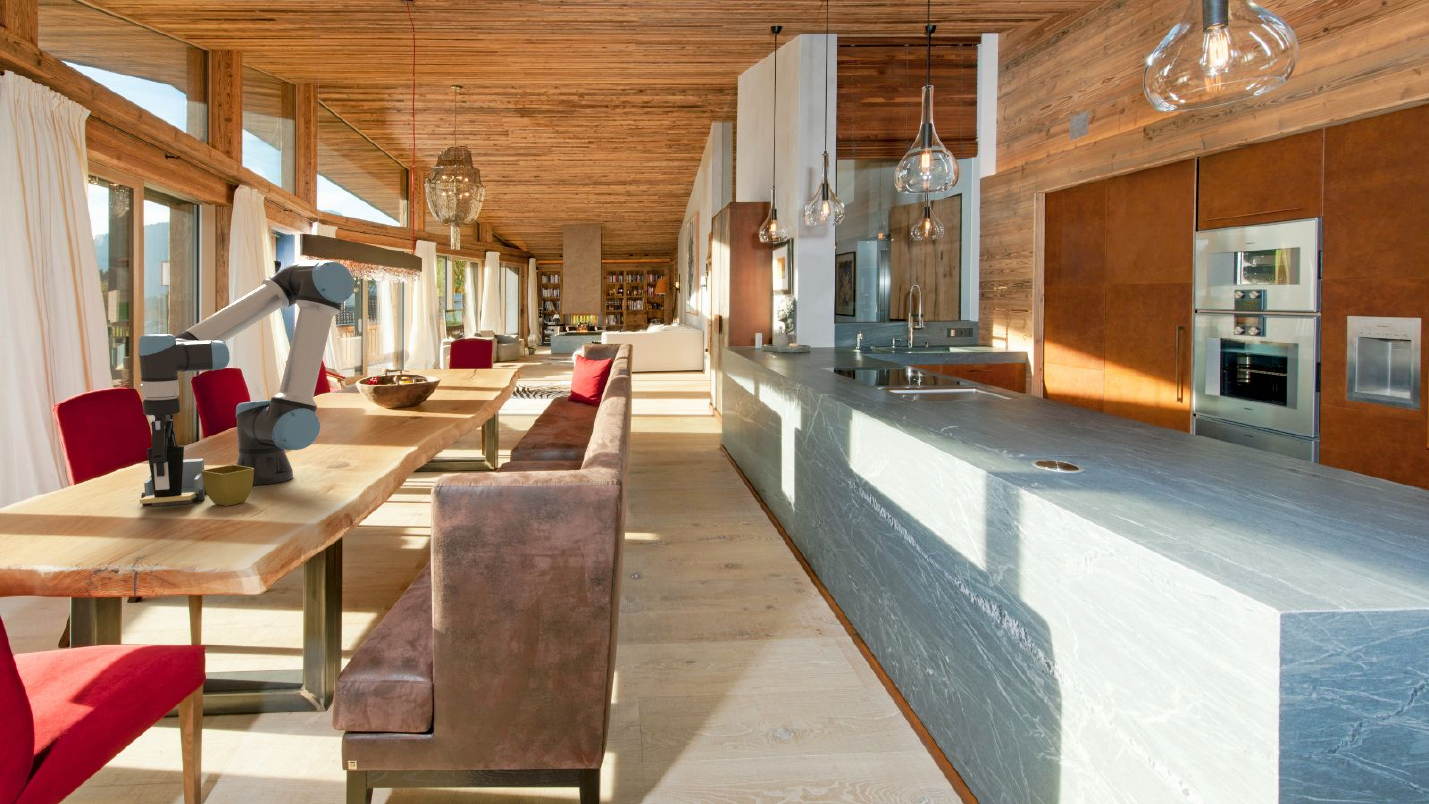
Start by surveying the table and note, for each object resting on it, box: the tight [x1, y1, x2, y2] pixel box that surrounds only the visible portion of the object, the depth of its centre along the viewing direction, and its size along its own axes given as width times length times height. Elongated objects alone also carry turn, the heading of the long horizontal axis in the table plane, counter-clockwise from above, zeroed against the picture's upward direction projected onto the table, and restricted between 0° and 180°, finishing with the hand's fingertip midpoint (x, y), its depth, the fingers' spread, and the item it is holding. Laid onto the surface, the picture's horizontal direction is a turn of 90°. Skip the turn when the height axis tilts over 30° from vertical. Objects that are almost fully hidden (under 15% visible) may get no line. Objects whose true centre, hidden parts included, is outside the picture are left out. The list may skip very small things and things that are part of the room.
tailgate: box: [139, 492, 197, 505], centre depth 205 cm, size 10×1×9 cm
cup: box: [146, 445, 185, 497], centre depth 204 cm, size 8×8×12 cm
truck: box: [140, 458, 207, 507], centre depth 215 cm, size 13×14×9 cm
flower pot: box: [201, 464, 254, 507], centre depth 211 cm, size 9×9×9 cm
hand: (167, 483), depth 204 cm, fingers open, 13 cm apart
